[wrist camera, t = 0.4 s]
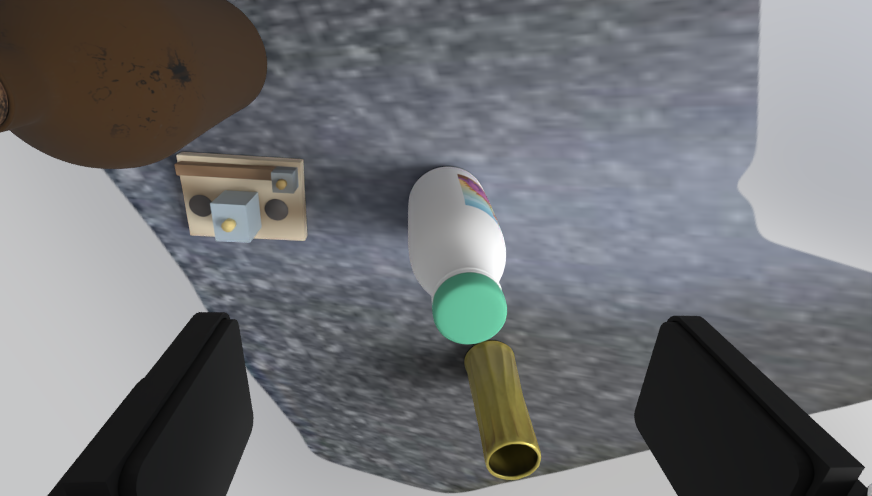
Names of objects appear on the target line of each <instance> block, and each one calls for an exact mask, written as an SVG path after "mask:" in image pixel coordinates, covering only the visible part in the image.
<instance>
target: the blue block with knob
mask: <svg viewBox="0 0 872 496" xmlns="http://www.w3.org/2000/svg"><path fill="white" fill-rule="evenodd" d="M210 206H211V213H212V219H213V226H214V233H215V239H216V241H226V242H248V243H250V242H251V241H252V239H253V238H254V237H255V235H256V234H257V233H258V231H259V230H260V229H261V227H262V226H261V216H260V206H259V196H258V192H248V191H230V190H225V191H224V192H223V193H221V194H220V195H219V196H218V197H217V198H216V199H215V200H213V201H212V202H211V203H210Z"/></svg>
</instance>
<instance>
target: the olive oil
mask: <svg viewBox="0 0 872 496" xmlns="http://www.w3.org/2000/svg"><path fill="white" fill-rule="evenodd" d="M266 73H267V58H266V52H265V48H264V45H263V42H262V39H261V37H260V35H259V33H258V31H257V30H256V28H255V27H254V25H253V24H252V22H251V21H250V20H249V19H248V18H247V16H246V15H245V14H244V13H243V12H241V11H240V10H239V9H238V8H237V7H235V6H234V5H233V4H231V3H229V2H228V1H226V0H0V132H4V131H8V130H10V131H11V132H12V133H13V134H15V135H16V136H17V137H19V138H20V139H22V140H23V141H24V142H26V143H27V144H29V145H30V146H32V147H34V148H36V149H37V150H39V151H41V152H43V153H45V154H47V155H49V156H51V157H54V158H57V159H60V160H62V161H65V162H68V163H71V164H76V165H80V166H85V167H91V168H101V169H125V168H135V167H141V166H145V165H149V164H152V163H155V162H158V161H160V160H163V159H165V158H167V157H169V156H171V155H172V154H174V153H175V152H177V151H179V150H180V149H181V148H183V147H184V146H186V145H187V144H189V143H190V142H192V141H193V140H194V139H196V138H197V137H199V136H200V135H202V134H203V133H205V132H206V131H208V130H209V129H211V128H212V127H214V126H215V125H217V124H218V123H220V122H221V121H223V120H224V119H226V118H228V117H229V116H231V115H233V114H234V113H236V112H238V111H240V110H241V109H243V108H245V107H246V106H248V105H249V104H250V103H251V102H252V101H253V100H254V99H255V98H256V97H257V96H258V94H259V93H260V91H261V89H262V87H263V85H264V82H265V79H266Z"/></svg>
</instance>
